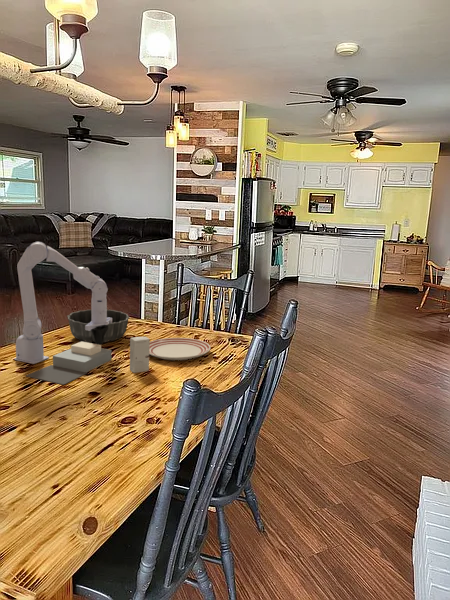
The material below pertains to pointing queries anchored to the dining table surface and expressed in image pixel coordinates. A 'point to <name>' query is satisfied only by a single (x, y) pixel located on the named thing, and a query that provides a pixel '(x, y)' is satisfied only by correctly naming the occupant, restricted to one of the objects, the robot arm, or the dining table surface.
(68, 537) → the dining table surface
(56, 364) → the grey flat block
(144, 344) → the skincare box
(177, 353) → the dinner plate
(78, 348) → the cream rectangular block
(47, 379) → the mat
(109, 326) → the bundt pan
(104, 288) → the robot arm
